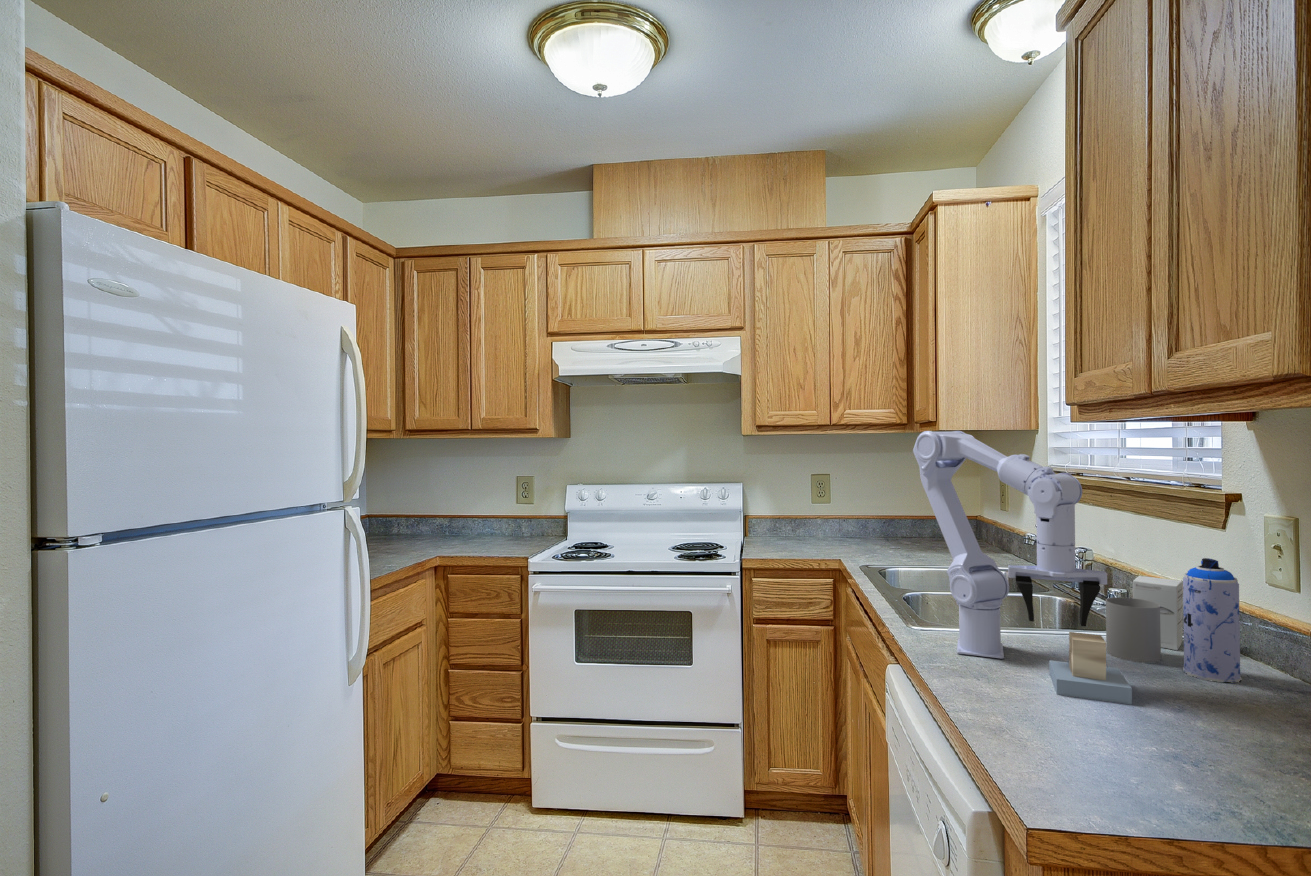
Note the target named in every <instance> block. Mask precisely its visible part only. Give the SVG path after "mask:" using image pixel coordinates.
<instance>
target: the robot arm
mask: <svg viewBox="0 0 1311 876" xmlns="http://www.w3.org/2000/svg"><path fill="white" fill-rule="evenodd" d="M912 453H913V454H914V457H915V459H916V462H917V464H918V467H919V476H920V482H921V486H922V487H923V490H924V492H925V494H926V496H927V499H928V502H929V505H930V506H931V509H932V512H933V514H934V516H935V518H936V521H937V524H938V526H939V528H940V530H941V531H940V532H941V534H942V536H943V538H944V541H945V543H946V545H947V548H948V550H949V551H948V552H949V553H950V555H951V559H952V562H951V563H950V565H949V567H948V568H947V570H946V573H947V576H948V579H949V590H950V593H951V596H952V598H953V599H954V600H955V601H956V605H957V606H958V614H959V615H958V620H959V621H958V622H959V623H958V629H959V630H958V632H959V637H958V638H957V645H956V653H957V654H959V655H960V654H961V655H967V656H968V655H969V656H978V657H986V658H993V659H1001V660H1002V659H1004V658H1005V657H1004V655H1005V654H1004V647H1003V643H1002V639H1001V638H1002V637H1001V636H1002V635H1001V633H1002V631H1001V626H1002V625H1001V606H1003V600H1004V599H1006V598H1007V597H1008V595H1009V592H1010V584H1009V580H1008V578H1010V579H1015V583H1016V586H1017V587H1018V589H1019V592H1020V593H1021V595H1022V597H1023V601H1024V604H1025V606H1026V610H1027V617H1028V621H1029V622H1034V621H1035V619H1034V618H1035V615H1034V607H1033V605H1034V604H1033V589H1034V588H1033V587H1034V585H1033V580H1048V581H1058V582H1073V583H1075V582H1076V583H1079V585H1078V586H1079V601H1080V604H1079V625H1080V626H1081V627H1087V623H1088V622H1087V621H1088V617H1089V614H1090V611H1091V608H1092V606H1093V603H1094V602H1095V600H1096V598H1097V597H1098V595H1099V593H1100V591H1101V585H1108V573H1107V572H1106V571H1103V570H1093V569H1083V568H1076V511H1075V510H1076V504H1078V503H1079V502H1080V500H1081V499H1082V496H1083V487H1082V485H1081V482H1080V481H1079V479H1078V478H1076V477H1075V476H1074V475H1072V474H1071V473H1070V472H1060V473H1055V472H1054V471H1053V470H1054V468H1052V467H1050V466H1047V465H1046V466H1042V465H1040V464H1039V463H1036V462H1035V461H1032V460H1030V458H1031V456H1030V455H1028V454H1025V453H1020V454H1011V455H1009V456H1007V455H1005V454H1004V453H1002V452H1000V451H998V450H997V449H995V448H993V447H991V446H989V445H987V444H986V443H984V442H982V441H981V440H978V439H976V438H975V437H974V436H973V435H971V434H969V433H965V431H961V430H953V431H933V430H932V431H931V430H924V431H922V432H921V433H919V435H917V438H916V440H915V443H914V446H913V449H912ZM966 460H969V461H972V462H974V463H976V464H979V465H980V466H983V467H985V468H987V469H990V470H991V471H994V472H997V477H998V479H999V481H1000V482H1002V483H1003V484H1004V485H1007V486H1009V487H1011V488H1013V489H1015V490H1016V491H1018V492H1021V493H1023V494H1024V495H1026V496H1028V498H1029V500H1030V502H1031V503H1032V504H1033V508H1034V514H1035V515H1036V516H1035V517H1036V565H1016V564H1015V565H1014V564H1008V566H1007V567H1008V568H1007V573H1008V577H1007V576H1006V575H1005V573H1004V572H1003V571H1002V570H1001V569H1000V568H999V567H998V565H997V563H996V561H995V560H994V559H993V558H991V557H990V556H988V554H985V553H984V552H983V551H982V549H981V546H980V545H979V542H978V540H977V537H976V536H975V533H974V530H973V528H972V526H971V524H970V522H969V519H968V516H967V514H966V512H965V510H964V507H963V505H962V502H961V501H960V498H959V496H958V494H957V491H956V489H955V486H954V484H953V482H952V478H953V476H954V475H955V474H956V473H957V472H958V470H959V469H960V468H961V466H962V465H963V464H964V463H965V461H966ZM1032 579H1033V580H1032Z"/></svg>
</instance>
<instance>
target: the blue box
mask: <svg viewBox="0 0 1311 876" xmlns="http://www.w3.org/2000/svg"><path fill="white" fill-rule="evenodd" d="M1048 662H1049V663H1048V665H1049V666H1048V667H1049V668H1048V669H1049V677H1050V679H1051V680H1050V681H1051V683H1052V685H1053V689H1054V691H1055V694H1056V695H1057V696H1064V697H1071V698H1072V697H1073V698H1078V697H1079V699H1088V700H1095V701H1103V702H1111V703H1117V704H1123V705H1124V704H1125V705H1133V688H1132V686H1131V685H1130V683H1129V682H1128V681H1127V680H1126V678H1125V676H1124V675H1123V674H1122V671H1121V670H1120V669H1119V668H1118V667H1111V666H1106V680H1099V679H1091V678H1083V677H1076V676H1073V675H1072V673H1071V670H1070V668H1069V662H1066V661H1058V660H1057V661H1056V660H1049V661H1048Z"/></svg>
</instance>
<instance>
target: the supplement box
mask: <svg viewBox="0 0 1311 876" xmlns="http://www.w3.org/2000/svg"><path fill="white" fill-rule="evenodd" d="M1132 598H1135V599H1142V600H1147V601H1152V602H1155V603H1157V604H1159V605H1160V634H1161V649H1162V648H1163V649H1169V650H1173V651H1178V650H1179V648H1180V647H1181V646H1182V644H1183V639H1184V617H1183V580H1178V579H1170V578H1169V579H1168V578H1160V577H1153V576H1145V575H1144V576H1143V575H1138V576H1137V577H1135V579H1133V581H1132Z"/></svg>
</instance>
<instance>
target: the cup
mask: <svg viewBox="0 0 1311 876" xmlns="http://www.w3.org/2000/svg"><path fill="white" fill-rule="evenodd" d="M1105 628H1106V629H1105V632H1106V633H1105V634H1106V635H1105V636H1106V637H1105V638H1106V639H1105V642H1106V655H1109V656H1111V657H1113V658H1116V659H1119V660H1123V661H1128V662H1132V663H1133V662H1134V663H1142V662H1155V663H1158V661H1159V662H1161V661H1160V660H1162V654H1161V653H1162V651H1161V650H1162V647H1161V634H1160V605H1159V604H1157V603H1155V602H1152V601H1147V600H1142V599H1135V598H1133V597H1124V596H1123V597H1121V596H1116V597H1108V598H1105Z"/></svg>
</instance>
